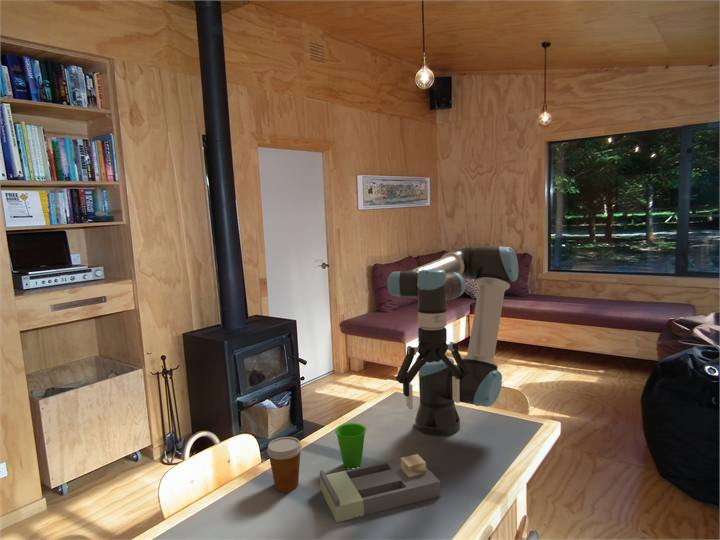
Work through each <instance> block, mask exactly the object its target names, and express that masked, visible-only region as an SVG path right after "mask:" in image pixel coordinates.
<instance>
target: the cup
mask: <svg viewBox="0 0 720 540" xmlns="http://www.w3.org/2000/svg"><path fill="white" fill-rule="evenodd" d="M334 432H335V434H336V437H337V441H338V447H339V451H340V455H341V461H342V465H343V467H344V466H345V467H346V468H349V469H348V470H350V469H352V468H357V467H359V466H360V465H362V461H363V460H362V459H363V452H364V442H365V434H366V432H367V428H366V426H365V425H364V424H361V423H356V422H347V423H342V424H340V425H338V426H337V427H336V428H335V430H334ZM345 467H344V468H345ZM360 467H361V466H360ZM346 468H345V469H346Z"/></svg>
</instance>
